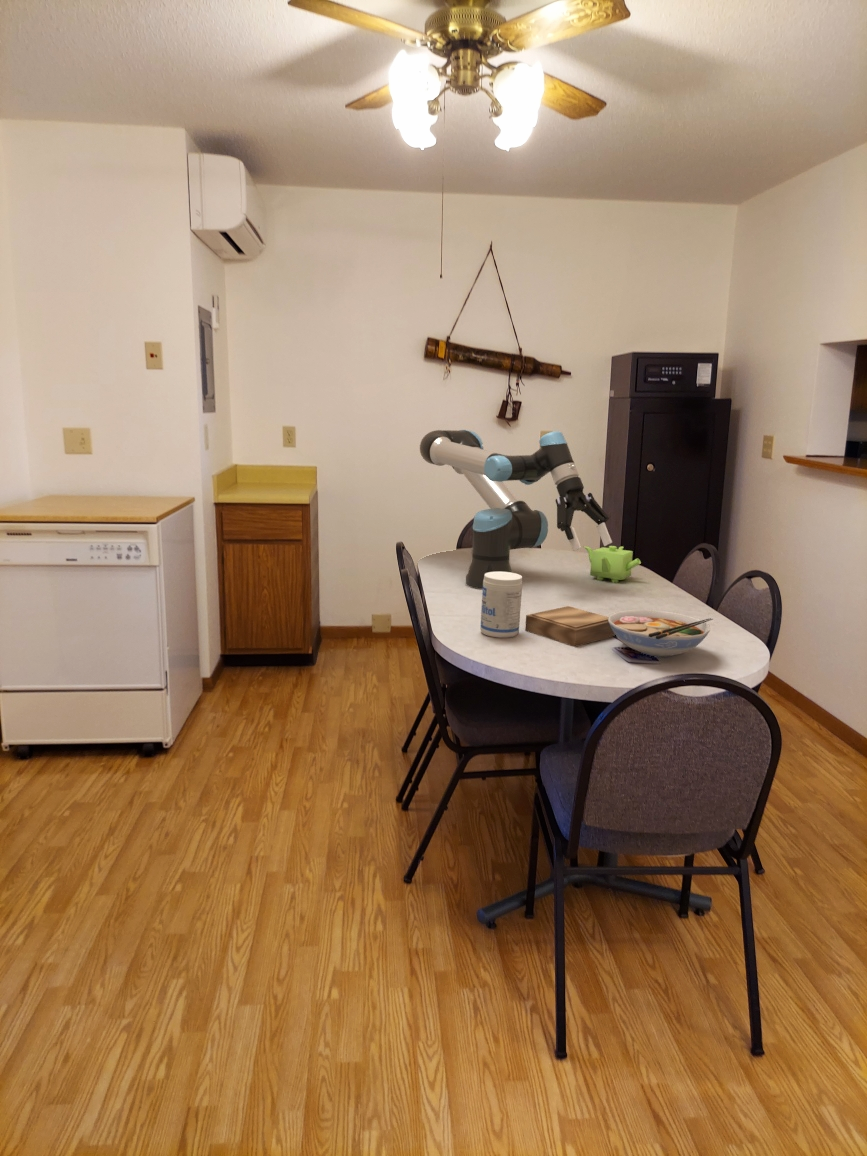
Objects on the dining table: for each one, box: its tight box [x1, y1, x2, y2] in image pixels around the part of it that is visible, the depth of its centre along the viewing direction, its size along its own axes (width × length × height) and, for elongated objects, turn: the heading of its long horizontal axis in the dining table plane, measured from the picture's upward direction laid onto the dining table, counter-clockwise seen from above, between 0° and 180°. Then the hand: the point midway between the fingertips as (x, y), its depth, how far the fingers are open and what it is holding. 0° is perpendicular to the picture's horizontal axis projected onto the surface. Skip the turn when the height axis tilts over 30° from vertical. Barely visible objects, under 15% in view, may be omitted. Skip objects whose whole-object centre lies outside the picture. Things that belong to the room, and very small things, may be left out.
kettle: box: [582, 545, 642, 584], centre depth 254 cm, size 15×14×11 cm
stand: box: [524, 605, 615, 647], centre depth 192 cm, size 16×16×4 cm
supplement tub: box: [480, 572, 523, 639], centre depth 189 cm, size 10×10×15 cm
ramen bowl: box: [608, 609, 714, 658], centre depth 178 cm, size 25×23×8 cm
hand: (593, 546), depth 226 cm, fingers open, 13 cm apart
